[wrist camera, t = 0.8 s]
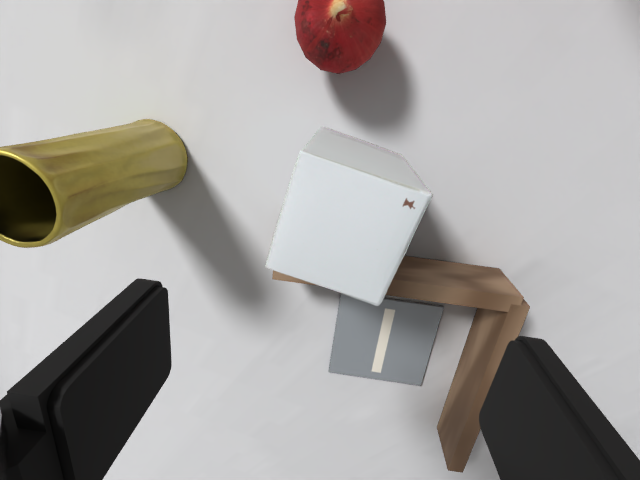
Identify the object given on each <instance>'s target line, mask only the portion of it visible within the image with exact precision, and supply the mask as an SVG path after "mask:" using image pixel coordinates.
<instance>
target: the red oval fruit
mask: <svg viewBox="0 0 640 480" xmlns="http://www.w3.org/2000/svg"><path fill="white" fill-rule="evenodd" d="M385 25H386V16H385V5H384V1H383V0H298V5H297V9H296V13H295V26H296V35H297V40H298V42H299V44H300V46H301V48H302V51H303V53H304V55H305V57H306V58H307V59H308V60H309V61H311V62H312V63H313V64H314V65H316V66H317V67H318V68H319V69H320V70H324V71H328V72H333V73H337V74H340V73H344V72H348V71H352V70H355V69H357V68H358V67H360V66H361V65H362V64H364V63H365V62H366V61H368V60H369V59H370V58H371V57H372V55H373V54H374V52H375V51H376V49H377V48H378V46H379V44H380V43H381V40H382V36H383V32H384V29H385Z"/></svg>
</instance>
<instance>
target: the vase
mask: <svg viewBox="0 0 640 480" xmlns="http://www.w3.org/2000/svg"><path fill="white" fill-rule="evenodd" d="M186 168H187V153H186V149H185V147H184V145H183V142H182V141H181V139H180V138H179V137H178V135H177V134H176V133H175V132H174V131H173V130H172V129H171V128H169V127H168V126H167V125H165V124H163V123H161V122H158V121H155V120H150V119H143V120H138V121H136V122H133V123H130V124H126V125H121V126H115V127H111V128H105V129H99V130H95V131H90V132H83V133H78V134H73V135H68V136H63V137H58V138H52V139H47V140H42V141H36V142H30V143H24V144H17V145H10V146H4V147H0V240H1V241H3V242H6V243H8V244H11V245H13V246H17V247H24V248H30V247H40V246H44V245H47V244H51V243H53V242H55V241H57V240H59V239H61V238H62V237H64V236H66V235H68V234H70V233H72V232H74V231H76V230H78V229H80V228H82V227H84V226H86V225H88V224H90V223H92V222H94V221H96V220H98V219H100V218H102V217H104V216H106V215H108V214H110V213H112V212H114V211H116V210H118V209H120V208H121V207H123V206H125V205H127V204H129V203H131V202H134V201H136V200H139V199H142V198H145V197H148V196H151V195H154V194H156V193H159V192H162V191H165V190H169V189H171V188H173V187H175V186H176V185H177V184H179V183H180V182H181V181H182V179H183V177H184V175H185V172H186Z"/></svg>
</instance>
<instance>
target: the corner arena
mask: <svg viewBox="0 0 640 480" xmlns="http://www.w3.org/2000/svg"><path fill="white" fill-rule="evenodd" d="M273 279H275V280H282V281H289V282H296V283H304V284H311V285H316V284H313V283H310V282H307V281H304V280H301V279H298V278H295V277H292V276H289V275H286V274H283V273H280V272H277V271H274V270H273ZM318 286H319V285H318ZM385 295H390V296H397V297H404V298H411V299H418V300H425V301H433V302H440V303H447V304H454V305H461V306H468V307H476V308H477V311H476V314H475V317H474V320H473V322H472V325H471V328H470V331H469V334H468V337H467V340H466V343H465V346H464V349H463V352H462V355H461V358H460V361H459V364H458V367H457V370H456V373H455V376H454V379H453V381H452V384H451V387H450V390H449V393H448V396H447V399H446V402H445V405H444V408H443V411H442V414H441V417H440V420H439V423H438V426H437V430H438V434H439V438H440V442H441V445H442V449H443V453H444V457H445V461H446V465H447V469H448V470H450V471H456V472H463V470H464V468H465V466H466V463H467V461H468V458H469V456H470V453H471V451H472V448H473V446H474V443H475V441H476V439H477V436H478V434H479V431H480V429H481V428H480V424H479V413H480V410H481V408H482V405H483V403H484V401H485V398H486V396H487V393H488V391H489V388H490V386H491V384H492V381H493V379H494V376H495V374H496V372H497V369H498V367H499V364H500V362H501V359H502V357H503V355H504V352H505V350H506V347H507V345H508V343H509V342H510V341H512V340H515V339H516V338H517V337H518V335H519V333H520V331H521V328H522V326H523V323H524V321H525V318H526V316H527V313H528V311H529V308H530V306H529V305H528V304H527V302H526V301H525V300H524V299H523V298H524V297H523V296H522V295H521V294H520V292H519V291H518V290H517V289H516V288H515V286H514V285H513V284H512V283H511V282H510V281H509V279H508V278H507V277H506V276H505V275H504V273H503V272H502V271H501V270H500V269H499V268H491V267H484V266H477V265H469V264H462V263H455V262H447V261H440V260H433V259H425V258H418V257H411V256H404V257H403V259H402V261H401V263H400V265H399V267H398V269H397V271H396V273H395V275H394V277H393V279H392V282H391V284H390V286H389V288H388V290H387V292H386V294H385Z"/></svg>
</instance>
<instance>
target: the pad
mask: <svg viewBox="0 0 640 480" xmlns="http://www.w3.org/2000/svg"><path fill="white" fill-rule="evenodd" d="M443 309H444V307H443V306H439V305H432V304H425V303H418V302H411V301H403V300H396V299H389V298H383V301H382V303H381V304H380V305H379V306H375V305H372V304H370V303H367V302H364V301H361V300H358V299H355V298H353V297H350V296H347V295H344V294H342V293H341V295H340V302H339V308H338V315H337V321H336V327H335V334H334V340H333V346H332V353H331V359H330V365H329V372H330V373H337V374H343V375H350V376H357V377H364V378H371V379H377V380H384V381H391V382H398V383H405V384H411V385H418V386H421V383H422V380H423V376H424V373H425V370H426V366H427V363H428V359H429V356H430V353H431V349H432V346H433V342H434V339H435V336H436V332H437V329H438V325H439V322H440V319H441V315H442V312H443Z"/></svg>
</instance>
